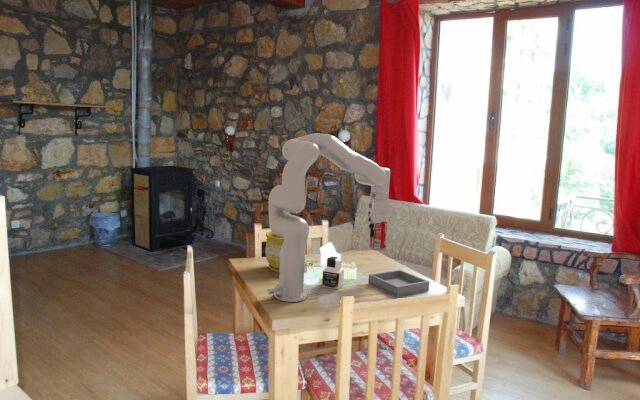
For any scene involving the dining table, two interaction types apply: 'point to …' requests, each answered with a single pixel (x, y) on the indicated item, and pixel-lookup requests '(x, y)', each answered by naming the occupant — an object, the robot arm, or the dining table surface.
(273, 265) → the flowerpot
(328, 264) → the medicine bottle
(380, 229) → the soda can
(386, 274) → the tray
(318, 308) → the dining table surface
